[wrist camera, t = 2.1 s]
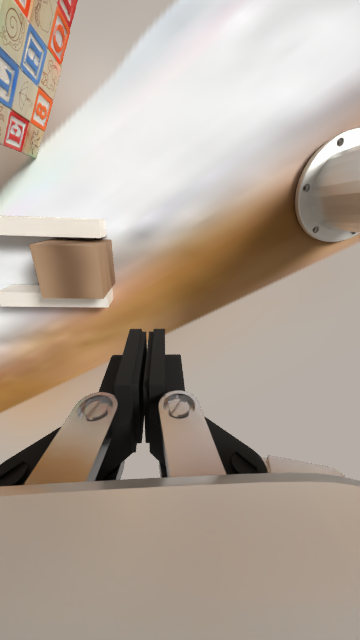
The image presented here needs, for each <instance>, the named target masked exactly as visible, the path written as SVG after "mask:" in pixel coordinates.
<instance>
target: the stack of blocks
mask: <svg viewBox="0 0 360 640" xmlns="http://www.w3.org/2000/svg"><path fill="white" fill-rule="evenodd" d="M77 1H78V0H0V144H2V145H4V146H6V147H9V148H12V149H14V150H17V151H19V152H22V153H24V154H26V155H28V156H31V157H33V158H37V154H38V151H39V148H40V145H41V141H42V137H43V132H44V131H45V129H46V126H47V122H48V118H49V114H50V111H51V107H52V103H53V102H52V101H53V99H54V95H55V92H56V89H57V85H58V81H59V77H60V74H61V63H62V61H63V56H64V52H65V49H66V45H67V41H68V38H69V34H70V27H71V23H72V20H73V17H74V13H75V9H76V4H77Z"/></svg>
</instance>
